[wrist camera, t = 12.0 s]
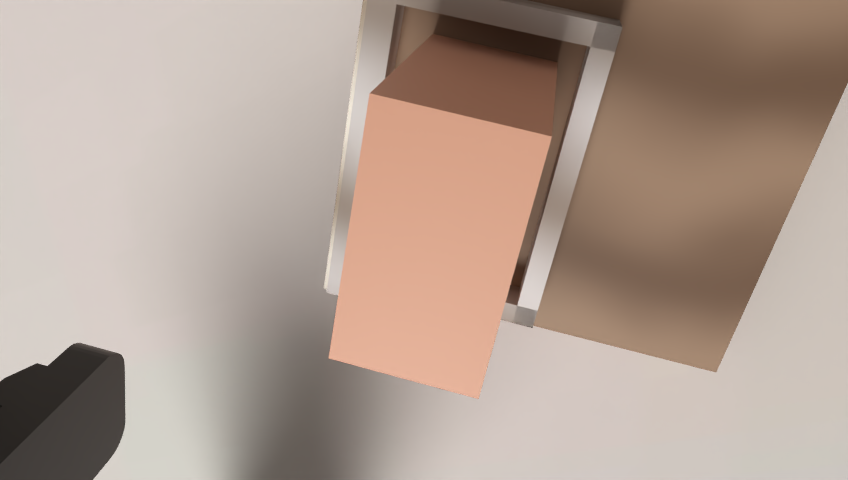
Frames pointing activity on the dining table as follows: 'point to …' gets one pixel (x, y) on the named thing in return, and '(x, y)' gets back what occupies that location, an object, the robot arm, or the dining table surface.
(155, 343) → the dining table surface
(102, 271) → the dining table surface
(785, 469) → the dining table surface
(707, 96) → the brown wooden tray
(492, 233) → the carton
